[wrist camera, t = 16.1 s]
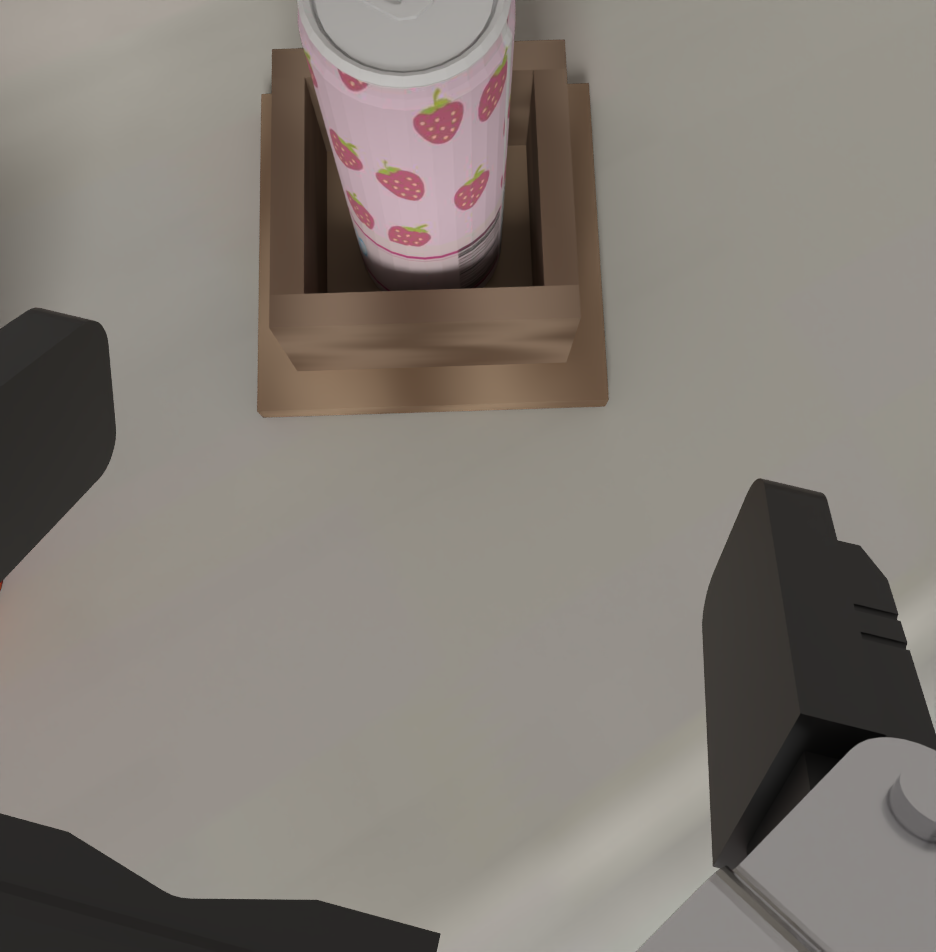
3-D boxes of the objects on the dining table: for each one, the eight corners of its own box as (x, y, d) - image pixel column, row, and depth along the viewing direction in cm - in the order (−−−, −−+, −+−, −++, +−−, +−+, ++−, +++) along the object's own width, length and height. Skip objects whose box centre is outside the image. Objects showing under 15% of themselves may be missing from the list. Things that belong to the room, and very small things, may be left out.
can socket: (585, 97, 39) (605, -1, 33) (605, 406, 36) (630, 360, 30) (266, 107, 39) (229, 12, 33) (263, 417, 36) (221, 373, 30)
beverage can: (369, 179, 37) (300, -124, 22) (505, 188, 37) (526, -110, 22) (356, 308, 36) (275, 80, 21) (495, 318, 36) (511, 95, 21)
